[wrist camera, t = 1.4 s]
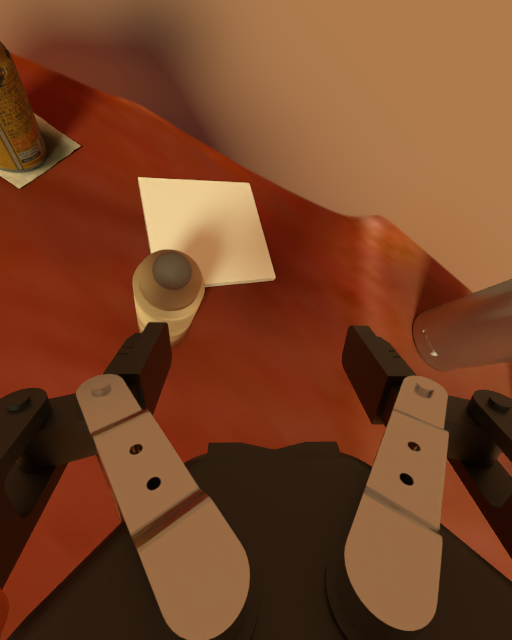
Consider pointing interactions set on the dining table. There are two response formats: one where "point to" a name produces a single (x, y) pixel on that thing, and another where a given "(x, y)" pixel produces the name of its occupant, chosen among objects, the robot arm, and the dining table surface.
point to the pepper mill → (168, 292)
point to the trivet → (208, 227)
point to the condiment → (25, 131)
